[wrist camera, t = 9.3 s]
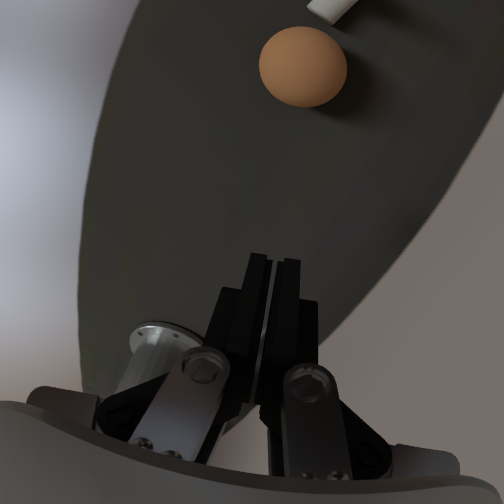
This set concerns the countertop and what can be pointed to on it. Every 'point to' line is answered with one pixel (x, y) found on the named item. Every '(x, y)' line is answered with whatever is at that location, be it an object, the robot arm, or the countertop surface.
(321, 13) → the pin
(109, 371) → the countertop surface
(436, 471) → the robot arm
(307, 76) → the ball
